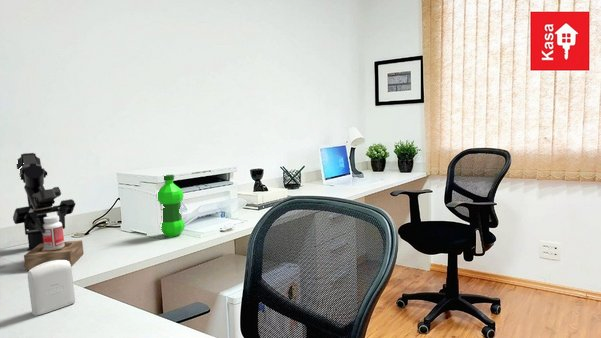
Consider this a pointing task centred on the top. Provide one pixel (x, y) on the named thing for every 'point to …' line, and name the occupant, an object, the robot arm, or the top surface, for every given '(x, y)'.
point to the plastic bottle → (171, 207)
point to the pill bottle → (53, 233)
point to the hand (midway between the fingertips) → (54, 230)
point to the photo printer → (51, 286)
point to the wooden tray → (54, 254)
